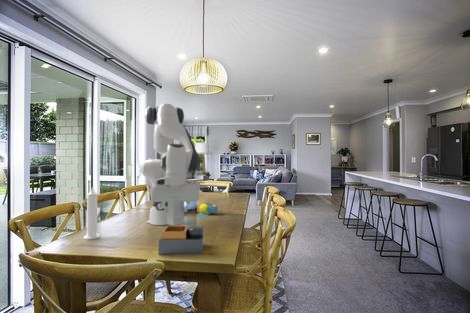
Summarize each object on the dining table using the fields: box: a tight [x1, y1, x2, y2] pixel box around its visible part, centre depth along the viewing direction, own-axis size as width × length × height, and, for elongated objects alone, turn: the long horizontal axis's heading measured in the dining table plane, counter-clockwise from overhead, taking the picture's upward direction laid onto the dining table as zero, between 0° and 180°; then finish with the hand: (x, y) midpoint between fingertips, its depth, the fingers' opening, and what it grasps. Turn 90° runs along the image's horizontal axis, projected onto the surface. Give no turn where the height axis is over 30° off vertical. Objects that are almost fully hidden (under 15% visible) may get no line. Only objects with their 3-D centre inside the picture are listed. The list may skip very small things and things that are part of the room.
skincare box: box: [167, 197, 185, 226], centre depth 112 cm, size 6×4×12 cm
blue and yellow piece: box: [195, 202, 219, 220], centre depth 182 cm, size 28×9×15 cm
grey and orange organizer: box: [158, 225, 205, 256], centre depth 112 cm, size 12×18×9 cm, turn 95°
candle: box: [83, 187, 101, 241], centre depth 127 cm, size 7×7×25 cm
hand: (175, 211), depth 112 cm, fingers closed on skincare box, 7 cm apart
